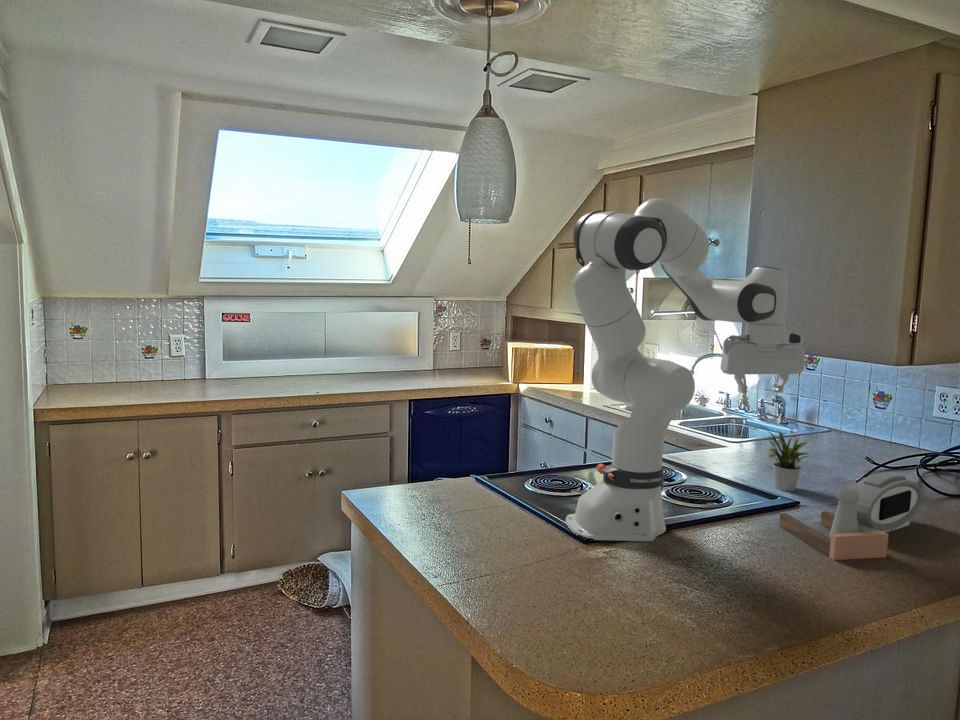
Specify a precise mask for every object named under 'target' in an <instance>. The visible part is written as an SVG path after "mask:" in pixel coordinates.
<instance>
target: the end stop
mask: <svg viewBox="0 0 960 720" xmlns="http://www.w3.org/2000/svg"><path fill="white" fill-rule="evenodd" d="M888 544H889V532H888V533H886V532H884V531H882V532H863V533H844V534H831V541H830V552H829V557H828V558H829V559H831V560H832V561H844V560H846V561H847V560H858V559H859V560H860V559H861V560H862V559H875V558H887V553H888Z"/></svg>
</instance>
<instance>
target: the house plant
mask: <svg viewBox="0 0 960 720" xmlns="http://www.w3.org/2000/svg"><path fill="white" fill-rule="evenodd" d="M762 430H763V431H766V432H768V433H769V434H770V435H771V436H769V435H767V437H769V439H768V438H766V440H767V441H768V442H769V443H770V444H772V446H773V447H774V448H769V449H768V450H765V452H768V453H769V456H768V459H770V458H775V460H776V461H777V462H773V463H772V472H773V484H774V488H775V489H776V490H778V491H779V490H780V491H783V492H785V491H786V492H793V491H796V487H797V484H798V480H799V476H800V473H801V468H802V467H801V466H800V462H801V460H802V459H804V458H809V456H808V455H809V453H807V452H799V451H800V449H802V448H803V447H804V446H805V445H807V444H808V443H809V442H810V441H812V440H815V439H816V437H812V438H809V439H808V440H806V441H804V442H803V441H802V442H800V443H799V440H800V435H798V436H797V438H796V439H795V442H794V444H793V446H792V447H790V445H791V441H792V439H793V438H794V437H795V435H793V436H792V433H793V431H794V429H793V430H792V431H791V433H790V435H789V438H788V441H786V440H785V438H784V436H783V433H782V432H781V431H780V430H778V431H777V434H778V435H779V439H780V442H781V446H780V444H779V442H778V441H777V439H776V437H775V436H774V434H773V433H772V432H770V431H769V430H766V429H763V428H762ZM761 435H762V434H761ZM762 436H764V437H765V435H762ZM791 436H792V437H791ZM770 439H771V440H773V442H772V441H771V440H770ZM774 443H775V444H774ZM776 446H777V448H778V449H777V448H776ZM778 450H779V451H780V452H779V451H778ZM769 451H770V452H769ZM803 455H804V456H803ZM806 455H807V456H806ZM800 456H802V457H800ZM776 457H777V458H776Z"/></svg>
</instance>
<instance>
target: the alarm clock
mask: <svg viewBox="0 0 960 720" xmlns="http://www.w3.org/2000/svg"><path fill="white" fill-rule="evenodd" d="M851 489H854V490H856V491H858V493H859V500H858V502H856V511H857V520H858V528H860V529H862V530H864V531H866V532H882V531H884V532H888V533H890V532H889V531H891V532H893V531H896V530H900V529H902V528H904V527H907V526H909V525H910V520H911V519H912V518H913V517H914V516H915V514H916V513H917V512H918V511H919V508H920V506H921V504H922V502H923V501H922V500H923V490H922V488H921V486H920V485H918V484H917V482H915V481H911V480H907V478H906V476H902V475H897V474H895V473H890V472H879V473H878V472H877V473H874V474H872V475H869V476H867V477H865V478H862V479H861V480H860V481H858V482H857V483H855V484H854V485H853V486H852V487H851ZM895 529H896V530H895ZM892 530H893V531H892Z"/></svg>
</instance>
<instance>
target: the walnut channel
mask: <svg viewBox="0 0 960 720" xmlns="http://www.w3.org/2000/svg"><path fill="white" fill-rule="evenodd" d="M834 517H835V514H834V513H832V512H829V511H821V515H820V525H821V526H824V527H825V528H826V529H828V530H830V531H831V528H832V524H833V521H834ZM778 525H779V527H780V528H782V529H783V530H784V531H786V532H788V533H789V534H791V535H793V536H794V537H796V538H798V539H799V540H801V541H802V542H804V543H805V544H807V545H808V546H810V547H811V548H813V549H815V550H817V551H818V552H820V553H822V554H823V555H825V556H826V557H828V558H829V552H830V541H831V539H830V538H829V536H826V535H825V534H822V533H821V532H819V531H817V530H816V529H814V528H813V527H811V526H809V525H807V524H806V523H804V522H802V521H801V520H799V519H797V518H795V517H794V516H792V515H791V514H788V513H787V512H786V513H785V512H784V513H783V512H782V513H780V514H779V523H778ZM858 530H859V533H863V532H866V531H864V530H862V529H860V528H858Z"/></svg>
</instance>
